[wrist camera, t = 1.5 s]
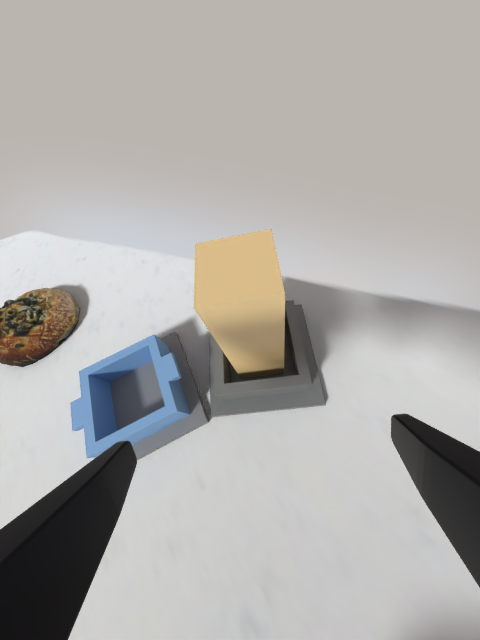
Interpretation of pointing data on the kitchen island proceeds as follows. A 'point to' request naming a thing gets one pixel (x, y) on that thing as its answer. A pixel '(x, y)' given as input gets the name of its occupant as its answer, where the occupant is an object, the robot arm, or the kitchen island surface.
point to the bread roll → (35, 325)
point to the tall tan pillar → (243, 301)
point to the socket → (271, 390)
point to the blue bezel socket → (138, 398)
